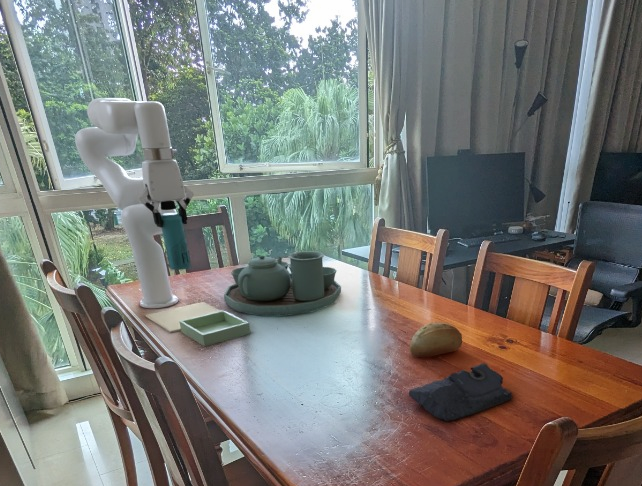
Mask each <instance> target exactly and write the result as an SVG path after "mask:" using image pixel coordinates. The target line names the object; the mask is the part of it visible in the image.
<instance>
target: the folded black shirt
mask: <svg viewBox="0 0 642 486" xmlns="http://www.w3.org/2000/svg"><path fill="white" fill-rule="evenodd" d="M470 370H471V371H468V370H465V369H462V370H460V371H458V372H452V373H450V374H449V375H448V376H446V377H445V378H444V379H441V380H433V381H432V382H429V383H426V384H424V385H422V386H418V387H414V388H412V389H409V391H408V397H410V398H411V399H412V400H413V401H415V402H416V403H417V404H419V405H420V406H421V407H423V408H424V410H425V411H426V412H427V413H429V414H431V415H432V416H434V417H435V418H437V419H439V420H441V421H445V422H450V421H455V420H460V419H463V418H466V417H468V416H473V415H475V414H478V413H481V412H483V411H487V410H488V409H491V408H493V407H495V406H499V405H502V404H504V403H506V402H508V401H510V400H511V399H512V398H513V395H512V392H511V391H508V390H507V389H506V388H504V387H503V386H502V385H503V384H504V383H503V381H504V377H503V376H502V375H501V374H500V373H498V372H497V371H496V370H494V369H492V368H490V366H489V365H488V364H487V363H485V362H482V363H479V364H478V365H475V366H471V367H470Z"/></svg>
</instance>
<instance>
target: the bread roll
mask: <svg viewBox="0 0 642 486" xmlns="http://www.w3.org/2000/svg"><path fill="white" fill-rule="evenodd" d="M462 344H463V334H462V332H460V330H459V329H458V328H457V327H455V325H452V324H449V323H446V322H430V323H426V324H424V325H422V326H421V327H420V328H418V330H417V331H416V332H415V333H414V334H413V336H412V338H411V341H410V343H409V352H410V355H412V356H413V357H415V358H428V357H434V356H437V355H443V354H447V353H452V352H455V351H458V350H459V349H460V348H461V347H462V346H463V345H462Z"/></svg>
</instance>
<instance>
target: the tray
mask: <svg viewBox="0 0 642 486" xmlns="http://www.w3.org/2000/svg"><path fill="white" fill-rule="evenodd" d="M179 323H180V327H181V330H180V331H181V333H182V334H184V335H186V336H187V337H189V338H191V339H192V340H194V341H195V342H197V343H198V344H200V345H202V346H203V347H208V346H211V345H214V344H218V343H222V342H225V341H229V340H232V339H236V338H240V337H243V336H246V335H250V334H251V327H250V322H248V321H247V320H245V319H243V318H241V317H239V316H237V315H234V314H233V313H231V312H228V311H226V310H223V309H222V310H220V311H219V312H215V313H211V314H207V315H203V316H198V317H194V318H190V319H186V320H182V321H179Z"/></svg>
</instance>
